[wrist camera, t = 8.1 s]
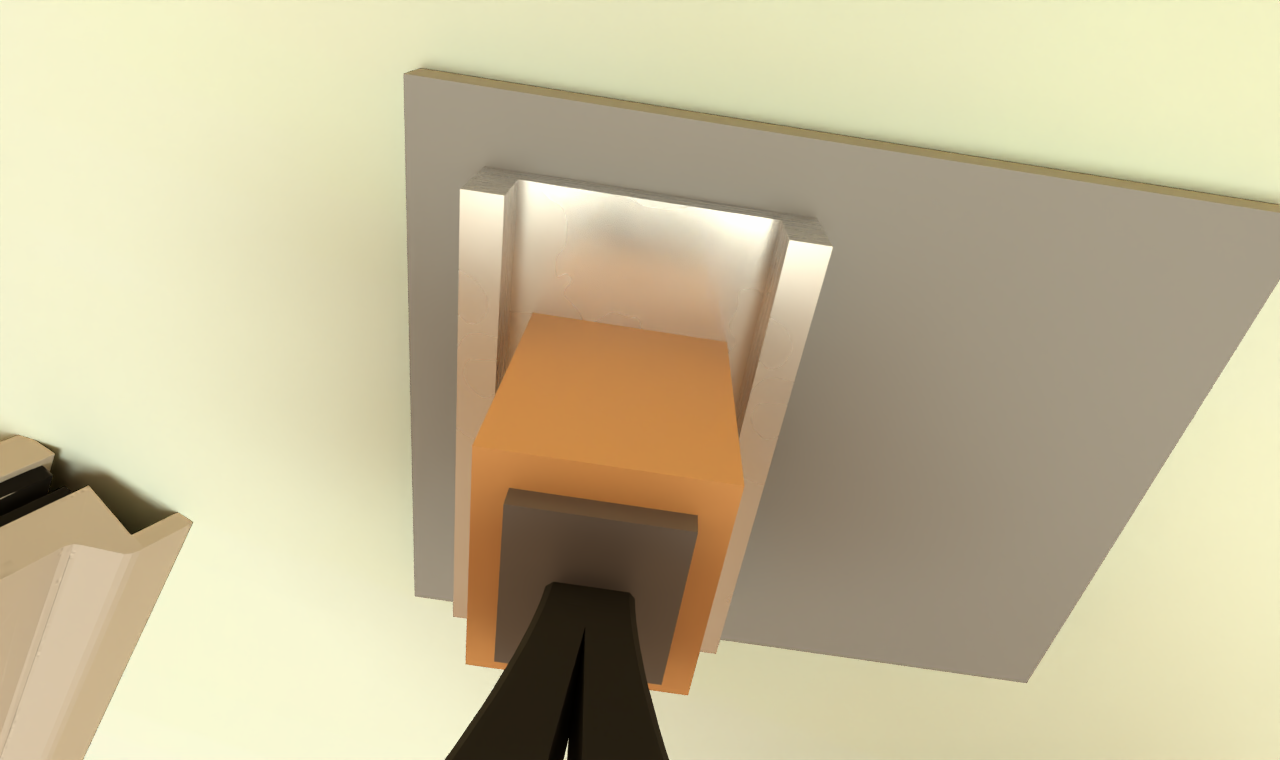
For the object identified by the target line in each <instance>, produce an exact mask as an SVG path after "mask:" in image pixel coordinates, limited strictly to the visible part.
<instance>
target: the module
mask: <svg viewBox="0 0 1280 760" xmlns="http://www.w3.org/2000/svg"><path fill="white" fill-rule="evenodd" d="M743 490H744V477H743V469H742V461H741V453H740V445H739V437H738V428H737V420H736V412H735V404H734V396H733V388H732V379H731V371H730V363H729V355H728V347H727V342H724V341H717V340H711V339H704V338H697V337H691V336H684V335H678V334H671V333H665V332H658V331H651V330H645V329H638V328H632V327H625V326H618V325H612V324H605V323H599V322H592V321H585V320H579V319H572V318H566V317H559V316H552V315H546V314H539V313H532V316H531V318H530V320H529V322H528V324H527V327H526V329H525V331H524V333H523V335H522V338H521V340H520V342H519V344H518V346H517V349H516V351H515V353H514V355H513V357H512V360H511V362H510V364H509V366H508V368H507V370H506V373H505V375H504V377H503V379H502V381H501V384H500V386H499V388H498V390H497V392H496V395H495V397H494V399H493V401H492V403H491V406H490V408H489V410H488V412H487V414H486V417H485V419H484V421H483V423H482V425H481V428H480V430H479V432H478V434H477V436H476V439H475V441H474V443H473V445H472V468H471V501H470V535H469V569H468V602H467V636H466V664H468V665H475V666H482V667H489V668H497V669H504V670H505V668H506V666H507V665H508V663H509V661H510V660H511V658H512V656H513V655H514V653H515V651H516V649H517V647H518V646H519V644H520V642H521V640H522V638H523V636H524V634H525V633H526V631H527V629H528V627H529V625H530V623H531V621H532V618H533V616H534V614H535V612H536V610H537V607H538V605H539V603H540V600H541V598H542V595H543V592H544V589H545V586H546V585H548V584H550V583H552V582H559V583H566V584H574V585H581V586H588V587H595V588H602V589H609V590H616V591H623V592H629V593H630V594H631V595H632V596H633V597H634V598H635V612H636V623H637V631H638V637H639V644H640V649H641V654H642V660H643V665H644V670H645V674H646V679H647V683H648V687H649V690H654V691H661V692H668V693H675V694H682V695H688V693H689V689H690V686H691V682H692V678H693V675H694V671H695V667H696V663H697V660H698V656H699V652H700V649H701V645H702V641H703V638H704V634H705V630H706V627H707V623H708V619H709V615H710V612H711V608H712V604H713V601H714V597H715V593H716V590H717V586H718V582H719V578H720V575H721V571H722V567H723V564H724V560H725V556H726V553H727V549H728V545H729V541H730V538H731V534H732V530H733V527H734V523H735V519H736V516H737V512H738V508H739V505H740V501H741V497H742V493H743Z"/></svg>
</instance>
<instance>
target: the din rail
mask: <svg viewBox="0 0 1280 760" xmlns="http://www.w3.org/2000/svg"><path fill="white" fill-rule="evenodd" d="M832 249H833V246H832V244H831V242H830V241H829V239H828V237H827V235H826V234H825V232H824V230H823V228H822V227H821V225H820V223H819V221H818V219H817V218H813V217H807V216H800V215H794V214H787V213H781V212H775V211H768V210H762V209H755V208H749V207H743V206H736V205H730V204H723V203H717V202H711V201H704V200H698V199H691V198H685V197H679V196H672V195H666V194H660V193H653V192H647V191H640V190H634V189H628V188H621V187H615V186H608V185H602V184H596V183H589V182H583V181H576V180H570V179H564V178H557V177H551V176H544V175H538V174H532V173H525V172H519V171H512V170H506V169H500V168H493V167H487V166H484V167H483V168H482V169H481V170H480V171H479V172H478V173H477V174H475V175H474V176H473V177H472V178H471V179H470V180H469V181H468V182H467V183H466V184H465V185H464V186H462V187H461V188H460V219H459V281H458V344H457V406H456V469H455V531H454V594H453V617H460V618H467V602H468V569H469V535H470V501H471V468H472V445H473V443H474V441H475V439H476V436H477V434H478V432H479V430H480V428H481V425H482V423H483V421H484V419H485V417H486V414H487V412H488V410H489V408H490V406H491V403H492V401H493V399H494V397H495V395H496V392H497V390H498V388H499V386H500V384H501V381H502V379H503V377H504V375H505V373H506V370H507V368H508V366H509V364H510V362H511V360H512V357H513V355H514V353H515V351H516V349H517V346H518V344H519V342H520V340H521V338H522V335H523V333H524V331H525V329H526V327H527V324H528V322H529V320H530V318H531V316H532V313H539V314H546V315H552V316H559V317H566V318H572V319H579V320H585V321H592V322H599V323H605V324H612V325H618V326H625V327H632V328H638V329H645V330H651V331H658V332H665V333H671V334H678V335H684V336H691V337H697V338H704V339H711V340H717V341H724V342H727V347H728V355H729V363H730V371H731V379H732V388H733V396H734V404H735V412H736V420H737V428H738V437H739V445H740V453H741V461H742V469H743V477H744V490H743V493H742V497H741V501H740V505H739V508H738V512H737V516H736V519H735V523H734V527H733V530H732V534H731V538H730V541H729V545H728V549H727V553H726V556H725V560H724V564H723V567H722V571H721V575H720V578H719V582H718V586H717V590H716V593H715V597H714V601H713V604H712V608H711V612H710V615H709V619H708V623H707V627H706V630H705V634H704V638H703V641H702V645H701V649H700V652H708V653H715V654H716V652H717V648H718V645H719V641H720V638H721V634H722V631H723V627H724V624H725V620H726V617H727V613H728V610H729V606H730V603H731V599H732V596H733V592H734V589H735V586H736V582H737V579H738V575H739V572H740V568H741V565H742V561H743V558H744V554H745V551H746V547H747V544H748V540H749V537H750V533H751V530H752V526H753V523H754V520H755V516H756V513H757V509H758V506H759V502H760V499H761V495H762V492H763V488H764V485H765V481H766V478H767V474H768V471H769V467H770V464H771V460H772V457H773V454H774V450H775V447H776V443H777V440H778V436H779V433H780V429H781V426H782V422H783V419H784V415H785V412H786V408H787V405H788V401H789V398H790V394H791V391H792V388H793V384H794V381H795V377H796V374H797V370H798V367H799V363H800V360H801V356H802V353H803V349H804V346H805V342H806V339H807V335H808V332H809V328H810V325H811V321H812V318H813V315H814V311H815V308H816V304H817V301H818V297H819V294H820V290H821V287H822V283H823V280H824V276H825V273H826V269H827V266H828V262H829V259H830V255H831V252H832Z"/></svg>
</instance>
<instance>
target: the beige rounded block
mask: <svg viewBox="0 0 1280 760" xmlns="http://www.w3.org/2000/svg"><path fill="white" fill-rule="evenodd" d="M54 455H55V453H53V452H52V451H50V450H49V449H47V448H46V447H44V446H43V445H42V444H40V443H39V442H37V441H36V440H34V439H30V438H27V437H24V436H20V435H16V436H14V437H11V438H9V439H6V440H4V441H1V442H0V760H83V758H84V756H85V754H86V752H87V749H88V747H89V745H90V743H91V741H92V739H93V736H94V734H95V732H96V730H97V728H98V726H99V724H100V721H101V719H102V717H103V715H104V713H105V711H106V708H107V706H108V704H109V702H110V700H111V698H112V695H113V693H114V691H115V689H116V687H117V685H118V683H119V680H120V678H121V676H122V674H123V672H124V670H125V667H126V665H127V663H128V661H129V659H130V657H131V655H132V652H133V650H134V648H135V646H136V644H137V642H138V639H139V637H140V635H141V633H142V631H143V629H144V626H145V624H146V622H147V620H148V618H149V616H150V614H151V611H152V609H153V607H154V605H155V603H156V601H157V598H158V596H159V594H160V592H161V590H162V588H163V586H164V583H165V581H166V579H167V577H168V575H169V573H170V570H171V568H172V566H173V564H174V562H175V560H176V558H177V555H178V553H179V551H180V549H181V547H182V545H183V542H184V540H185V538H186V536H187V534H188V532H189V529H190V527H191V525H192V522H191V521H190V520H189V519H188V518H186V517H184V516H183V515H181V514H180V513H178V512H177V513H175V514H173V515H171V516H169V517H167V518H165V519H163V520H161V521H159V522H157V523H155V524H153V525H151V526H149V527H147V528H145V529H143V530H141V531H138V532H136V533H134V534H132V535H131V534H130V533H129V532H128V531H127V530H126V528H125V527H124V526H123V525H122V524H121V523H120V521H119V520H118V519H117V518H116V517H115V516H114V514H113V513H112V512H111V511H110V510H109V509H108V507H107V506H106V505H105V504H104V503H103V502H102V500H101V499H100V498H99V497H98V496H97V495H96V493H95V492H94V491H93V490H92V489H91V488H90V486H89V485H88V486H86V487H84V488H82V489H80V490H78V491H76V492H74V493H72V492H71V491H70V490H69V489H67V488H66V487H63V488H60V489H58V490H56V491H54V492H52V493H50V494H48V495H47V493H48V490H49V487H50V484H51V481H52V477H53V475H52V474H51V473H50V470H51V466H52V462H53V459H54Z"/></svg>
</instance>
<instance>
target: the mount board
mask: <svg viewBox="0 0 1280 760" xmlns="http://www.w3.org/2000/svg"><path fill="white" fill-rule="evenodd" d="M404 117H405V163H406V210H407V256H408V302H409V348H410V395H411V441H412V487H413V534H414V580H415V596H417V597H424V598H431V599H438V600H445V601H452V602H453V594H454V531H455V469H456V406H457V344H458V281H459V219H460V188H461V187H462V186H464V185H465V184H466V183H467V182H468V181H469V180H470V179H471V178H472V177H473V176H474V175H475V174H477V173H478V172H479V171H480V170H481V169H482V168H483V167H484V166H487V167H493V168H500V169H506V170H512V171H519V172H525V173H532V174H538V175H544V176H551V177H557V178H564V179H570V180H576V181H583V182H589V183H596V184H602V185H608V186H615V187H621V188H628V189H634V190H640V191H647V192H653V193H660V194H666V195H672V196H679V197H685V198H691V199H698V200H704V201H711V202H717V203H723V204H730V205H736V206H743V207H749V208H755V209H762V210H768V211H775V212H781V213H787V214H794V215H800V216H807V217H813V218H817V219H818V221H819V223H820V225H821V227H822V228H823V230H824V232H825V234H826V235H827V237H828V239H829V241H830V242H831V244H832V246H833V249H832V252H831V255H830V259H829V262H828V266H827V269H826V273H825V276H824V280H823V283H822V287H821V290H820V294H819V297H818V301H817V304H816V308H815V311H814V315H813V318H812V321H811V325H810V328H809V332H808V335H807V339H806V342H805V346H804V349H803V353H802V356H801V360H800V363H799V367H798V370H797V374H796V377H795V381H794V384H793V388H792V391H791V394H790V398H789V401H788V405H787V408H786V412H785V415H784V419H783V422H782V426H781V429H780V433H779V436H778V440H777V443H776V447H775V450H774V454H773V457H772V460H771V464H770V467H769V471H768V474H767V478H766V481H765V485H764V488H763V492H762V495H761V499H760V502H759V506H758V509H757V513H756V516H755V520H754V523H753V526H752V530H751V533H750V537H749V540H748V544H747V547H746V551H745V554H744V558H743V561H742V565H741V568H740V572H739V575H738V579H737V582H736V586H735V589H734V592H733V596H732V599H731V603H730V606H729V610H728V613H727V617H726V620H725V624H724V627H723V631H722V634H721V638H720V640H727V641H734V642H741V643H748V644H755V645H762V646H769V647H776V648H783V649H790V650H797V651H804V652H811V653H818V654H825V655H833V656H840V657H847V658H854V659H861V660H868V661H875V662H882V663H889V664H896V665H903V666H910V667H917V668H924V669H931V670H938V671H945V672H952V673H959V674H966V675H973V676H981V677H988V678H995V679H1002V680H1009V681H1016V682H1023V683H1027V682H1028V680H1029V678H1030V677H1031V675H1032V674H1033V672H1034V670H1035V669H1036V667H1037V666H1038V664H1039V662H1040V661H1041V659H1042V658H1043V656H1044V654H1045V653H1046V651H1047V650H1048V648H1049V646H1050V645H1051V643H1052V642H1053V640H1054V639H1055V637H1056V635H1057V634H1058V632H1059V631H1060V629H1061V627H1062V626H1063V624H1064V623H1065V621H1066V619H1067V618H1068V616H1069V615H1070V613H1071V611H1072V610H1073V608H1074V607H1075V605H1076V603H1077V602H1078V600H1079V599H1080V597H1081V595H1082V594H1083V592H1084V591H1085V589H1086V588H1087V586H1088V584H1089V583H1090V581H1091V580H1092V578H1093V576H1094V575H1095V573H1096V572H1097V570H1098V568H1099V567H1100V565H1101V564H1102V562H1103V560H1104V559H1105V557H1106V556H1107V554H1108V552H1109V551H1110V549H1111V548H1112V546H1113V544H1114V543H1115V541H1116V540H1117V538H1118V537H1119V535H1120V533H1121V532H1122V530H1123V529H1124V527H1125V525H1126V524H1127V522H1128V521H1129V519H1130V517H1131V516H1132V514H1133V513H1134V511H1135V509H1136V508H1137V506H1138V505H1139V503H1140V501H1141V500H1142V498H1143V497H1144V495H1145V493H1146V492H1147V490H1148V489H1149V487H1150V486H1151V484H1152V482H1153V481H1154V479H1155V478H1156V476H1157V474H1158V473H1159V471H1160V470H1161V468H1162V466H1163V465H1164V463H1165V462H1166V460H1167V458H1168V457H1169V455H1170V454H1171V452H1172V450H1173V449H1174V447H1175V446H1176V444H1177V442H1178V441H1179V439H1180V438H1181V436H1182V435H1183V433H1184V431H1185V430H1186V428H1187V427H1188V425H1189V423H1190V422H1191V420H1192V419H1193V417H1194V415H1195V414H1196V412H1197V411H1198V409H1199V407H1200V406H1201V404H1202V403H1203V401H1204V399H1205V398H1206V396H1207V395H1208V393H1209V391H1210V390H1211V388H1212V387H1213V385H1214V384H1215V382H1216V380H1217V379H1218V377H1219V376H1220V374H1221V372H1222V371H1223V369H1224V368H1225V366H1226V364H1227V363H1228V361H1229V360H1230V358H1231V356H1232V355H1233V353H1234V352H1235V350H1236V348H1237V347H1238V345H1239V344H1240V342H1241V340H1242V339H1243V337H1244V336H1245V334H1246V333H1247V331H1248V329H1249V328H1250V326H1251V325H1252V323H1253V321H1254V320H1255V318H1256V317H1257V315H1258V313H1259V312H1260V310H1261V309H1262V307H1263V305H1264V304H1265V302H1266V301H1267V299H1268V297H1269V296H1270V294H1271V293H1272V291H1273V290H1274V288H1275V286H1276V285H1277V283H1278V282H1279V280H1280V205H1277V204H1271V203H1265V202H1258V201H1252V200H1246V199H1240V198H1233V197H1227V196H1221V195H1214V194H1208V193H1202V192H1196V191H1189V190H1183V189H1177V188H1170V187H1164V186H1158V185H1152V184H1145V183H1139V182H1133V181H1126V180H1120V179H1114V178H1108V177H1101V176H1095V175H1089V174H1082V173H1076V172H1070V171H1064V170H1057V169H1051V168H1045V167H1038V166H1032V165H1026V164H1020V163H1013V162H1007V161H1001V160H995V159H988V158H982V157H976V156H969V155H963V154H957V153H951V152H944V151H938V150H932V149H925V148H919V147H913V146H907V145H900V144H894V143H888V142H881V141H875V140H869V139H863V138H856V137H850V136H844V135H837V134H831V133H825V132H819V131H812V130H806V129H800V128H793V127H787V126H781V125H775V124H768V123H762V122H756V121H749V120H743V119H737V118H731V117H724V116H718V115H712V114H706V113H699V112H693V111H687V110H680V109H674V108H668V107H662V106H655V105H649V104H643V103H636V102H630V101H624V100H618V99H611V98H605V97H599V96H592V95H586V94H580V93H574V92H567V91H561V90H555V89H548V88H542V87H536V86H530V85H523V84H517V83H511V82H504V81H498V80H492V79H486V78H479V77H473V76H467V75H460V74H454V73H448V72H442V71H435V70H429V69H423V68H419V69H416V70H413V71H410V72H407V73H404Z"/></svg>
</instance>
